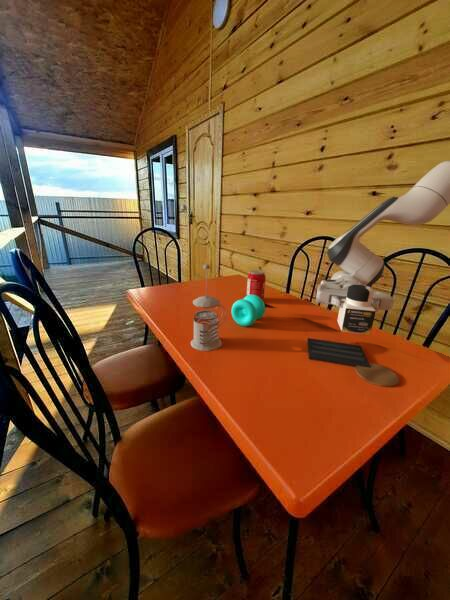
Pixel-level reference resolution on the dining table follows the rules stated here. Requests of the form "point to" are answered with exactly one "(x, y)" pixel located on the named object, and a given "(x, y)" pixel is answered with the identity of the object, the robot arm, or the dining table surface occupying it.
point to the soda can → (256, 283)
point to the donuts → (248, 310)
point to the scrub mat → (337, 353)
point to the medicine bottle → (357, 310)
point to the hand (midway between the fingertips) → (357, 306)
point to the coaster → (378, 375)
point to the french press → (206, 338)
